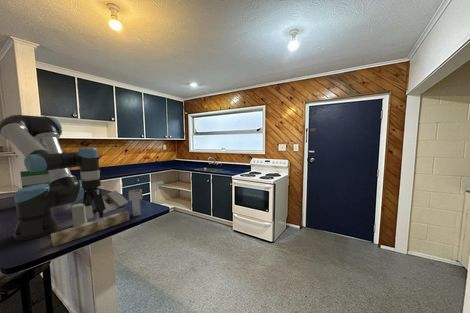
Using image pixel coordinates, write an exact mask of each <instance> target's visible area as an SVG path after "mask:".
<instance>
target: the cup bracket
mask: <svg viewBox="0 0 470 313" xmlns="http://www.w3.org/2000/svg"><path fill="white" fill-rule="evenodd" d="M141 200H143V191H142V188H139V189H131V190H128V202H131V204H132V206H131V207H132V217H138V216H141V215H142V214H141Z"/></svg>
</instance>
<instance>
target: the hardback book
mask: <svg viewBox="0 0 470 313" xmlns="http://www.w3.org/2000/svg"><path fill="white" fill-rule="evenodd" d="M20 179H21V180H20V181H21V189H22V188H25V187H28V186H32V185H38V184H48V185H49V183H50V182H51V181H52V180H51V177H50V174H49V172H48V171H42V172H39V171H38V172H29V171H28V170H23V171H22V170H21V171H20ZM49 186H50V185H49Z"/></svg>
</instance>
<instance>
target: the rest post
mask: <svg viewBox="0 0 470 313" xmlns="http://www.w3.org/2000/svg"><path fill="white" fill-rule="evenodd" d="M85 207H86V206H84V205H83V202H82V203H75V204H74V203H73V205H72V206H71V214H72V216H71V217H72V227H75V226H78V225H81V224H84V223H88V219H86V210H85Z"/></svg>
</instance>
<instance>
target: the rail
mask: <svg viewBox="0 0 470 313" xmlns="http://www.w3.org/2000/svg"><path fill="white" fill-rule="evenodd" d="M104 221H105V223H103V224H100V225H98V223H97V219H95V220H94V219H93V220H91V221H87V223H84V224H81V225H78V226H75V227H73V226H72V227H69V228H66V229H62V230H59V231H56V232H52V233H50V240H51V245H52V246H53V247H54V248H55V247H57V246H60V245H63V244H66V243H68V242H72V241H74V240H78V239H80V238H82V237H85V236H89V235H91V234H94V233H96V232H99V231H102V230H104V229H107V228H111V227H113V226H116V225H119V224H122V223H125V222H126V221H130V212H129V211H128V210H124V211H120V212H118V213H117V212H116V213H112V214H110V215H108V216H104Z"/></svg>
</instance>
